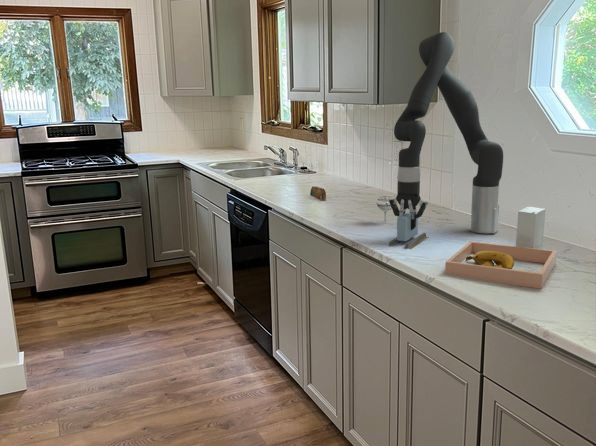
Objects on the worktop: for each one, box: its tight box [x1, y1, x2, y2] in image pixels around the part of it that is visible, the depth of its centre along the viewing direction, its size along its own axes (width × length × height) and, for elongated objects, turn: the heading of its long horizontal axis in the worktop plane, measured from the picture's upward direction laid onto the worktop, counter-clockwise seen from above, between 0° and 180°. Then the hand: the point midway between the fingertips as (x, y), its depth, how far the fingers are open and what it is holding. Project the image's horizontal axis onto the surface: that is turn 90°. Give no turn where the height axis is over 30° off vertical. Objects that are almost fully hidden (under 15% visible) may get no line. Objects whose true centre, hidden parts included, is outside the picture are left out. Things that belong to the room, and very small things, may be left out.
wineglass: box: [376, 195, 395, 225], centre depth 224 cm, size 7×7×12 cm
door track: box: [388, 232, 429, 250], centre depth 199 cm, size 9×18×2 cm, turn 149°
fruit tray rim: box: [444, 241, 558, 289], centre depth 169 cm, size 26×26×4 cm
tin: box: [309, 186, 327, 202], centre depth 277 cm, size 15×3×8 cm, turn 19°
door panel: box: [396, 211, 419, 242], centre depth 198 cm, size 3×12×8 cm, turn 148°
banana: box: [464, 251, 515, 269], centre depth 167 cm, size 15×19×6 cm
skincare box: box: [515, 206, 546, 249], centre depth 182 cm, size 8×6×15 cm
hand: (407, 228), depth 198 cm, fingers closed on door panel, 3 cm apart
